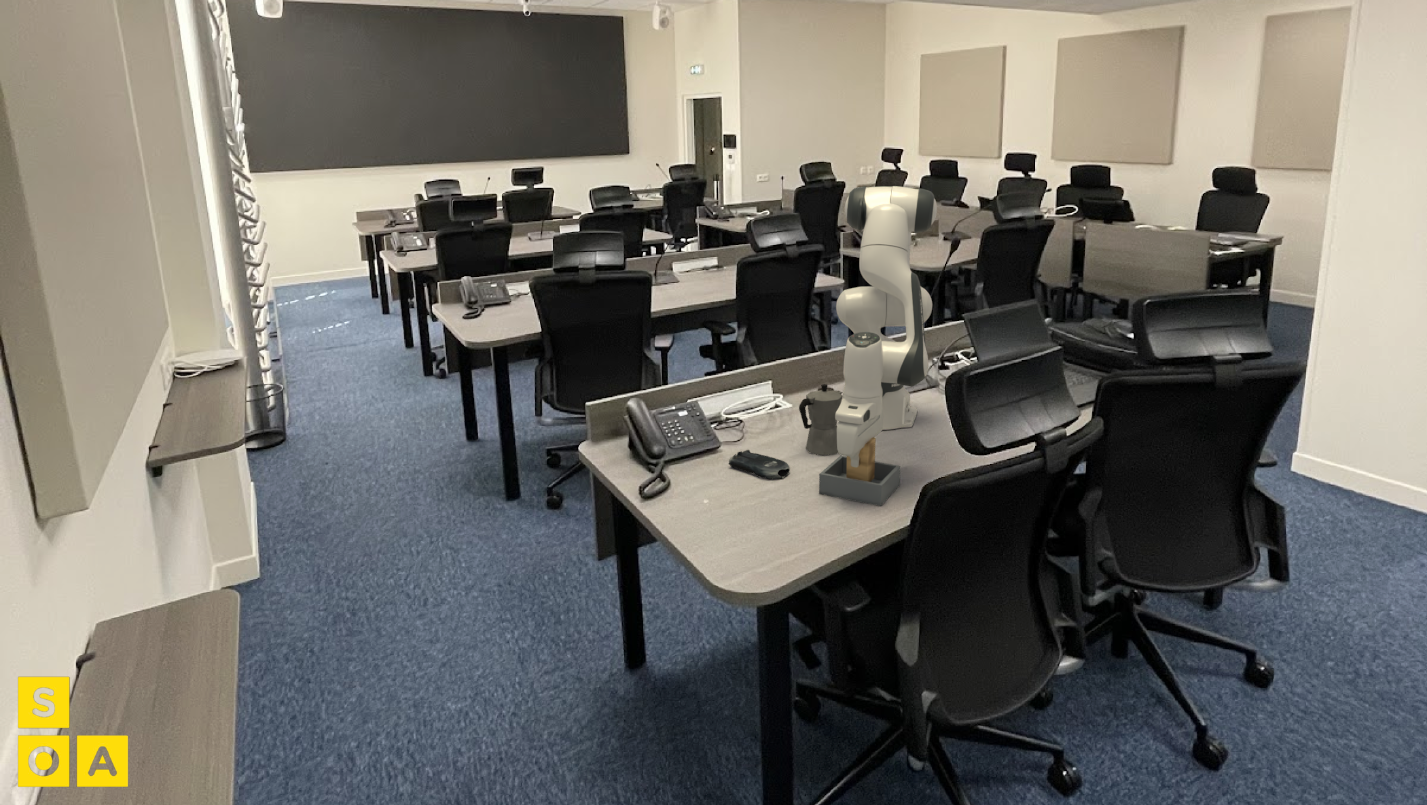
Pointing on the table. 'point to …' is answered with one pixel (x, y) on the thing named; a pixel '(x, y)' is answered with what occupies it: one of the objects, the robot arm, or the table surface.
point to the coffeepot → (821, 420)
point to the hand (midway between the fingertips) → (860, 461)
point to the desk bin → (859, 482)
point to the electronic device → (758, 464)
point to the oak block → (863, 463)
